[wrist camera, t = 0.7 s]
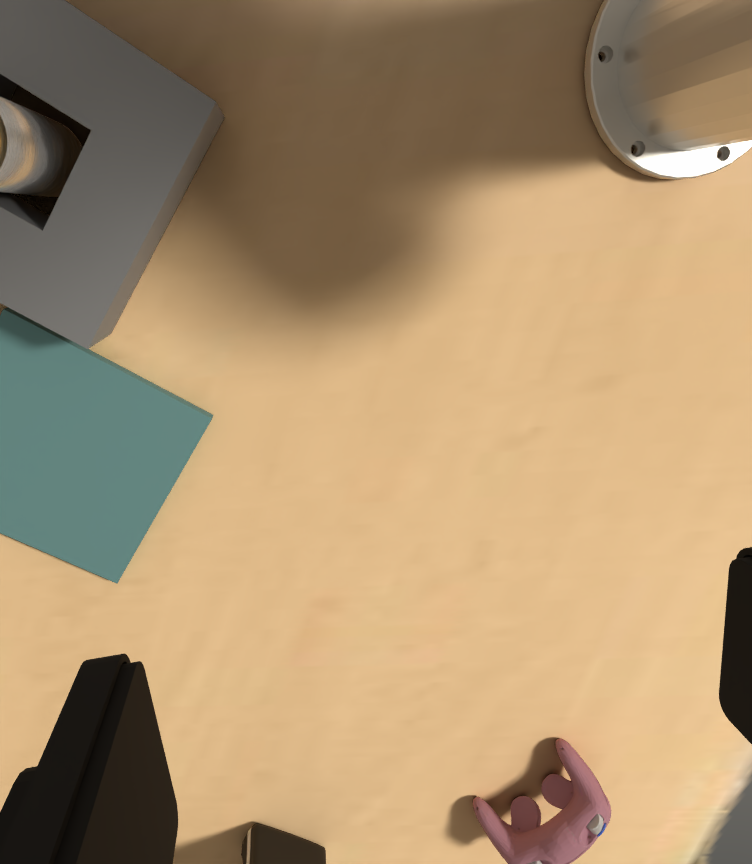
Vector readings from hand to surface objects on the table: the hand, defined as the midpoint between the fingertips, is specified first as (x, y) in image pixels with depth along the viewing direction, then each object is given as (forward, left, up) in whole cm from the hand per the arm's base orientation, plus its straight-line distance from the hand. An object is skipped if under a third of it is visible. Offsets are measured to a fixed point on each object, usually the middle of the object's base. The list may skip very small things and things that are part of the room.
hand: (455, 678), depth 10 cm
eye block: (-1, -18, -33) cm, 37 cm away
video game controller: (+23, +34, -33) cm, 53 cm away
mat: (+14, -10, -33) cm, 37 cm away
